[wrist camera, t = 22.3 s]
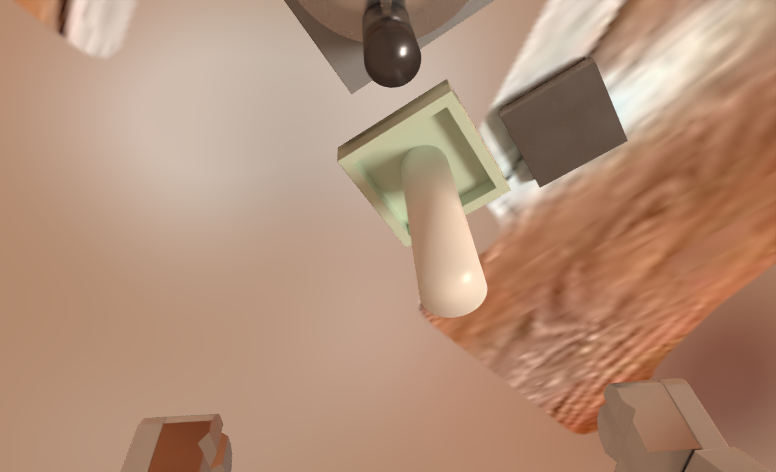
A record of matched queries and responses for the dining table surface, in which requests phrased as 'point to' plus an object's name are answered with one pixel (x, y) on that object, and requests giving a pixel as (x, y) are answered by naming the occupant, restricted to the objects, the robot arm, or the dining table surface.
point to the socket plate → (564, 122)
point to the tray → (415, 128)
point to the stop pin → (440, 236)
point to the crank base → (349, 52)
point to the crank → (385, 31)
